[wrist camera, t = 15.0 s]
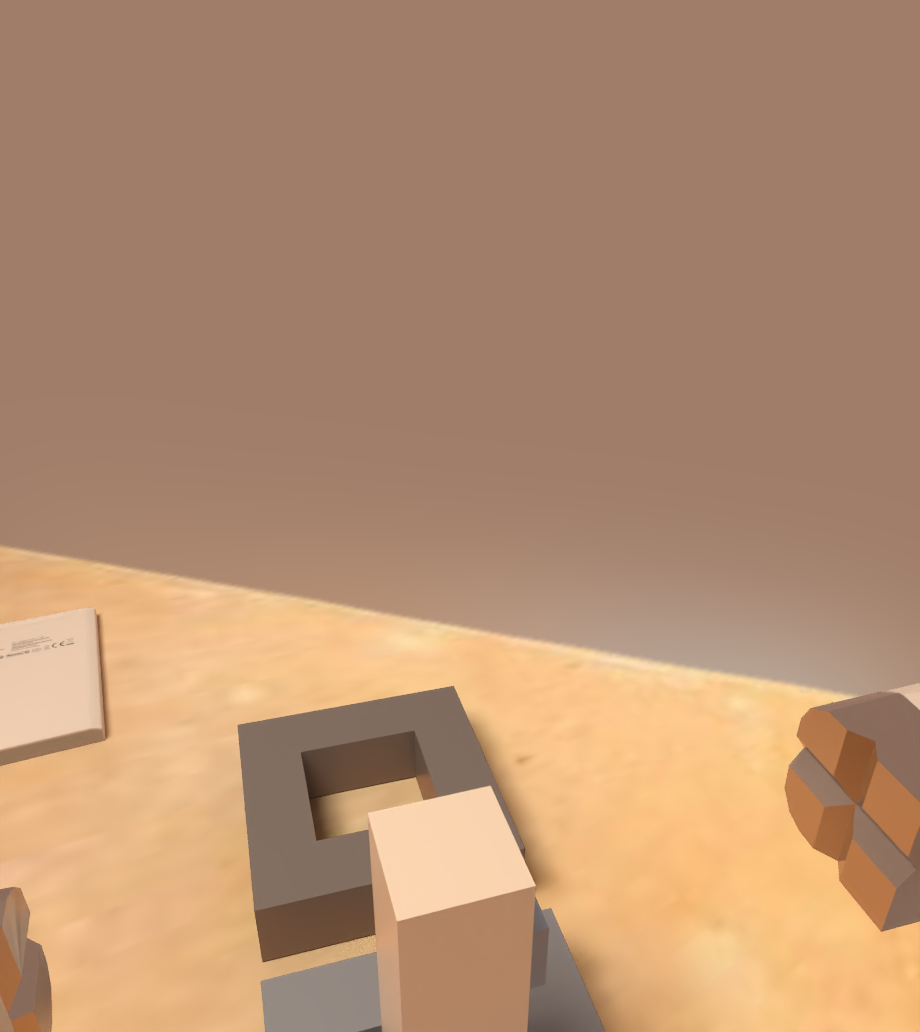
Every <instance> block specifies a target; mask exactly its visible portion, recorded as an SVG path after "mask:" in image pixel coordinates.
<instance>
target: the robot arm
mask: <svg viewBox="0 0 920 1032" xmlns="http://www.w3.org/2000/svg"><path fill="white" fill-rule="evenodd" d="M797 737H798V738H799V740H800V742H801V743H802V745H803V746H804V749H803V750H802V751H801V752H800V753H799V754H798V756H797V757H796V758H795V759H794V760H793V761H792V763H791V764H790V765H789V768H788V773H787V779H786V784H785V792H786V797H787V801H788V806H789V811H790V813H791V815H792V817H793V819H794V821H795V823H796V825H797V827H798V829H799V831H800V832H801V833H802V835H803V836H804V837H805V838H806V840H807V841H808V842H809V844H810V845H811V846H812V847H813V848H814V849H816V850H818V851H820V852H822V853H823V854H825V855H827V856H829V857H831V858H833V859H835V860H837V861H838V867H839V881H840V882H841V883H842V884H843V886H844V887H845V888H846V889H847V890H848V892H849V893H850V894H851V895H852V897H853V898H854V899H855V900H856V901H857V903H858V904H859V905H860V906H861V908H862V909H863V910H864V911H865V912H866V914H867V915H868V916H869V917H870V919H871V920H872V921H873V922H874V923H875V925H876V926H877V927H878V928H879V930H880V931H881V932H882V931H885V930H889V929H893V928H896V927H900V926H904V925H908V924H911V923H915V922H919V921H920V683H918V684H914V685H910V686H905V687H901V688H896V689H892V690H888V691H886V692H877V693H873V694H869V695H865V696H860V697H856V698H852V699H848V700H843V701H839V702H835V703H831V704H827V705H822V706H818V707H814V708H810V709H809V711H808V712H807V713H806V714H805V715H804V716H803V717H802V718H801V721H800V725H799V729H798V732H797ZM29 917H30V911H29V908H28V906H27V903H26V901H25V898H24V896H23V893H22V891H21V888H17V887H10V888H5V889H0V1032H51V1029H52V1000H51V984H50V978H49V972H48V966H47V962H46V959H45V955H44V952H43V949H42V946H41V945H40V944H38V943H36V942H34V941H32V940H30V939H28V938H27V932H28V924H29Z"/></svg>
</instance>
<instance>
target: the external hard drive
mask: <svg viewBox="0 0 920 1032" xmlns="http://www.w3.org/2000/svg"><path fill="white" fill-rule="evenodd" d="M105 740H106V736H105V721H104V709H103V694H102V680H101V665H100V650H99V635H98V621H97V615H96V610H95V609H94V608H81V609H76V610H71V611H66V612H61V613H56V614H51V615H46V616H41V617H36V618H30V619H25V620H19V621H14V622H9V623H3V624H0V766H2V765H6V764H10V763H14V762H18V761H22V760H27V759H31V758H35V757H39V756H43V755H47V754H51V753H55V752H59V751H64V750H68V749H72V748H76V747H80V746H84V745H88V744H93V743H97V742H101V741H105Z"/></svg>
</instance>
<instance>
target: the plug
mask: <svg viewBox="0 0 920 1032" xmlns="http://www.w3.org/2000/svg"><path fill="white" fill-rule="evenodd" d="M368 828H369V843H370V858H371V873H372V888H373V903H374V918H375V933H376V949H377V964H378V979H379V994H380V1009H381V1024H382V1032H527V1027H528V1010H529V993H530V989H532V988H535V987H539V986H542V985H545V980H546V966H547V952H548V938H549V926H548V924H547V922H546V920H545V917H544V915H543V913H542V911H541V908H540V906H539V904H538V902H537V899H536V897H535V890H536V885H535V883H534V881H533V879H532V876H531V874H530V872H529V870H528V867H527V865H526V863H525V861H524V859H523V856H522V854H521V852H520V850H519V847H518V845H517V843H516V841H515V839H514V836H513V834H512V832H511V830H510V828H509V825H508V823H507V821H506V819H505V816H504V814H503V812H502V810H501V808H500V805H499V803H498V801H497V799H496V796H495V794H494V792H493V790H492V788H491V786H487V787H482V788H478V789H473V790H469V791H464V792H460V793H455V794H451V795H446V796H442V797H437V798H433V799H428V800H424V801H419V802H415V803H410V804H406V805H401V806H397V807H392V808H388V809H383V810H379V811H374V812H370V813H368Z"/></svg>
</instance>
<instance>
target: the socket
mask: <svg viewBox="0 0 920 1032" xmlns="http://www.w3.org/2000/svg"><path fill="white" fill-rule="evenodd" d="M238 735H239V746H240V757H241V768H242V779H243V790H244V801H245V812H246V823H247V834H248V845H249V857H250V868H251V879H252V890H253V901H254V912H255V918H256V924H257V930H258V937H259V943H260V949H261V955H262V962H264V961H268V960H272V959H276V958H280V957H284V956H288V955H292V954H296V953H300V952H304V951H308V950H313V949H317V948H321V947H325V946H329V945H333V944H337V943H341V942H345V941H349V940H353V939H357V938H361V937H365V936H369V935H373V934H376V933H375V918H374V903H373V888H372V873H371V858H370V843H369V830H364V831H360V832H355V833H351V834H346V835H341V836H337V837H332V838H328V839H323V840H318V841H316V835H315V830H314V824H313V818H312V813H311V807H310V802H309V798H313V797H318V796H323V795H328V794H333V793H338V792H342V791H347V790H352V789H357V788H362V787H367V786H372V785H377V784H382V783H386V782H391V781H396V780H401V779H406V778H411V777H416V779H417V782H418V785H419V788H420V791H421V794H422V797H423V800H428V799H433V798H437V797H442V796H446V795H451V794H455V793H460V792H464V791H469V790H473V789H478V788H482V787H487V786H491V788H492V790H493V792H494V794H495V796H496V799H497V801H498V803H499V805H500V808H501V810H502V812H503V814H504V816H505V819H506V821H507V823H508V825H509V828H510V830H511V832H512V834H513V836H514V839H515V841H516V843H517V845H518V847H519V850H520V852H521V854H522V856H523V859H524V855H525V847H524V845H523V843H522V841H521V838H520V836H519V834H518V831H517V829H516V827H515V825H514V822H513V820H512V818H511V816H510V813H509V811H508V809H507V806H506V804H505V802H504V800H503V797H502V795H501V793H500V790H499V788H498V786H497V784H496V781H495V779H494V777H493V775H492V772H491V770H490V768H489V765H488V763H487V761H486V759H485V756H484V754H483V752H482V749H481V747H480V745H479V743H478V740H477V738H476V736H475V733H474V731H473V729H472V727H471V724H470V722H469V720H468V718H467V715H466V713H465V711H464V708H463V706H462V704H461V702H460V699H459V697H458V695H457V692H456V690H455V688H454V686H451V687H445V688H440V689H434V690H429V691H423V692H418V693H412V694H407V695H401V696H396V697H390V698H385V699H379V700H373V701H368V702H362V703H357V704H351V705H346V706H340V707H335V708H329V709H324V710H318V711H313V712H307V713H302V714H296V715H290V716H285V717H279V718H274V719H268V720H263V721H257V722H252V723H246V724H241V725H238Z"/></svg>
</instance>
